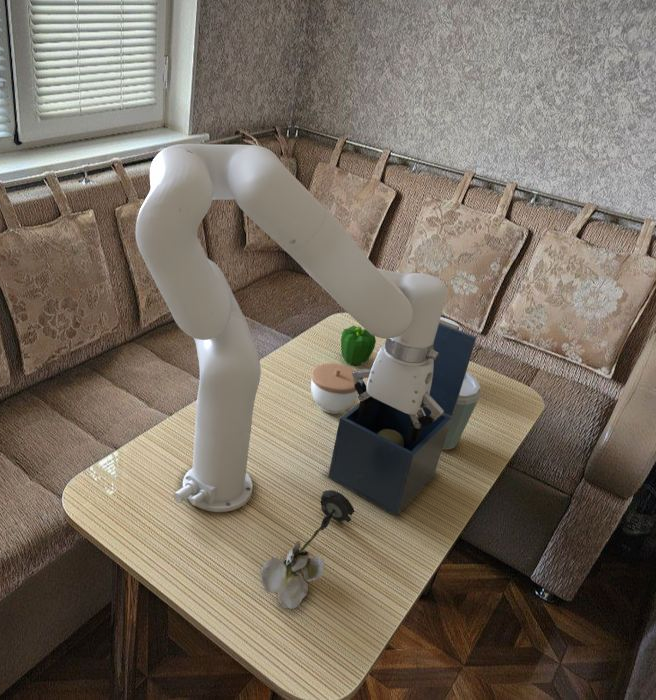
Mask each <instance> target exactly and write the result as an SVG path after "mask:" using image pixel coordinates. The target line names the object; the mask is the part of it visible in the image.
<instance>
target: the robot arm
mask: <svg viewBox="0 0 656 700" xmlns="http://www.w3.org/2000/svg"><path fill="white" fill-rule="evenodd" d="M149 182H150V190H149V192H148V194H147V196H146V197H145V200H144V201H143V203H142V204H141V207H140V209H139V212H138V214H137V217H136V222H135V234H134V235H135V241H136V242H135V243H136V246H137V248H138V251H139V253H140V256H141V258H142V260H143V262H144V263H145V266H146V268H147V269H148V271H149V273H150V275H151V277H152V279H153V282H154V283H155V285H156V288H157V289H158V291H159V293H160V295H161V297H162V298H163V301H164V302H165V304H166V306H167V308H168V310H169V311H170V314H171V316H172V318H173V320H174V322H175V324H176V325H177V326H178V328H179V329H180V330H181V331H182V332H184V334H186V335H187V336H189V337H192V338H193V340H194V343H195V347H196V353H197V359H198V360H197V361H198V366H199V383H198V390H197V395H196V396H197V397H196V407H195V423H194V424H195V425H194V437H193V438H194V439H193V453H192V454H193V455H192V456H193V457H192V467H191V468H190V469H189V470H187V472H186V473H185V475H184V476H183V479H182V487H181V488H180V489H178V490H176V492H174V493H173V495H172V496H173V499H174V501H175V502H176V503H178V504H181V503H182V502H183V501H185V500H187V501H189V502H190V504H191V505H192V506H194V507H197V508H199V509H201V510H203V511H208V512H211V513H227V512H232V511H235V510H238V509H240V508H241V507H243V506H244V505H247V503H248V502H249V500H250V499H251V497H252V495H253V486H254V485H253V480H252V478H251V476H250V475H249V474H248V473H247V465H248V459H249V458H248V457H249V450H250V449H249V448H250V440H251V432H252V423H253V414H254V413H253V412H254V406H255V400H256V396H257V392H258V389H259V385H260V380H261V374H262V370H261V368H262V367H261V360H260V355H259V352H258V349H257V346H256V343H255V340H254V339H253V335H252V333H251V330H250V327H249V324H248V322H247V320H246V318H245V315H244V313H243V311H242V309H241V307H240V305H239V303H238V301H237V299H236V296H235V295H234V293H233V291H232V288H231V287H230V285H229V283H228V281H227V279H226V276H225V274H224V273H223V271H222V269H221V268H220V266H218V264H217V263H215V262H214V261H212V260H211V259H210V258H208V257H207V254H206V251H205V250H204V247H203V246H202V243H201V242H200V239H199V237H198V230H199V227H200V225H201V223H202V221H203V220H204V218H205V217H206V215H207V214H208V213H209V211H210V208H211V206H212V203H213V201H233V200H234V201H235V203H236V204H237V205H238V208H239V209H240V210H241V211H243V213H244V214H245V215H246V216H247V217H248V218H249V219H250V220H251V221H252V222H253V223H255V224H256V225H257V226H258V227H259V228H260V229H261V230H262V231H263V232H264V233H265V234H266V235H268V236H269V238H271V240H273V241H274V242H275V243H276V244H277V245H279V247H280V248H282V249H283V251H284V252H286V253H287V254H288V255H289V256H290V257H291V258H292V259H293V260H294V261H295V262H296V263H297V264H298V265H299V266H300V267H301V268H302V269H303V270H304V271H305V272H306V273H307V274H308V275H309V277H311V278H312V279H313V280H314V281H315V282H316V283H317V284H318V285H319V286H320V287H321V288H322V289H323V290H324V291H326V293H327V294H328V295H329V296H330V298H332V299H333V300H334V301H335V302H336V303H337V304H338V305H339V306H340V307H341V308H342V309H343V310H344V311H345V312H346V313H347V314H348V315H349V316H350V317H351V318H353V320H354V321H356V322H357V323H358V324H359V325H360V327H361V328H363V329H366V330H367V331H368V332H369V333H370V334H372V335H374V336H375V338H380V339H385V342H384V343H383V344H382V345H381V346H380V348H379V350H378V352H377V354H376V357H375V358H374V361H373V363H372V366H371V368H364V369H363V368H362V369H354V370H355V371H354V372H353V373H352V376H353V380H354V382H355V385H354V387H355V389H356V391H357V392H358V395H357V398H358V401H359V403H360V404H359V403H358V404H359V409H358V412H359V417H358V420H360V421H362V420H364V419H365V418H366V417H367V416H369V414H370V411H371V407H372V403H373V398H375V399H377V400H379V401H381V402H383V403H385V404H387V405H389V406H391V407H393V408H396V409H398V410H400V411H402V412H404V413H406V414H409V416H410V418H411V420H412V422H413V424H412V425H411V426H410V428H409V432H408V435H407V439H406V444H407V445H410V444H411V443H412V442H413V441H417V440H418V439H419V437H420V434H421V431H422V427H423V426H426V425H429V424H431V423H432V422H434V421H435V420H436V419H437V418H439V417H440V416H441V415H442V414H443V413H444V411H443V409H442V408H441V407H440V406H439V405H438V404H437V403H436V402H435V401H434V399H433V398H432V397H431V396H430V395H429V394H430V390H431V384H432V378H433V367H434V360H437V358H438V356H439V353H438V352H436V351H435V350H434V339H435V336H436V332H437V329H438V325H439V321H440V318H441V317H442V314H443V310H444V307H445V303H446V300H447V296H448V287H447V285H446V283H445V282H444V281H443V280H442V279H441V278H439V277H437V276H434V275H433V274H427V273H421V272H414V273H413V272H412V273H401V272H396V271H391V270H387V269H383V268H378V267H376V266H375V264H373V263H372V261H371V260H370V259H369V257H368V256H367V255H366V254H365V253H364V252H363V250H361V248H360V246H359V245H358V244H357V242H356V241H355V240H354V239H353V236H352V235H351V233H349V231H348V230H347V229H346V228H345V227H344V226H343V224H342V222H340V221H339V220H338V219H337V218H336V217H335V216H334V214H332V213H331V212H330V211H329V210H328V208H326V207H325V205H323V204H322V203H321V202H320V201H319V200H318V199H317V198H316V197H315V196H314V194H312V193H311V192H310V191H309V190H308V189H307V188H306V187H305V186H304V184H303V183H302V182H300V181H299V180H298V179H297V177H296V176H295V175H294V174H293V173H292V172H291V171H290V170H289V169H288V168H287V167H286V166H285V164H283V163H282V161H281V160H280V158H279V157H278V156H277V155H276V154H275V153H274V152H273V151H272V149H271V150H270V149H268V148H267V147H265V146H262V145H261V146H260V145H256V144H255V145H253V144H215V143H213V144H212V143H211V144H208V143H207V144H206V143H179V144H173V145H169V146H167V147H165V148H163V149H161V151H159V152H158V153H157V154H156V156H155V157H154V158H153V159H152V162H151V165H150V168H149ZM433 359H434V360H433ZM364 379H367V382H366V383H365V381H364ZM425 406H426V407H427V408H428V409H429V410H430V411H431V414H429V415H425V413H424V410H423V408H422V407H425Z"/></svg>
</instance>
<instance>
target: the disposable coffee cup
mask: <svg viewBox="0 0 656 700" xmlns="http://www.w3.org/2000/svg"><path fill="white" fill-rule="evenodd" d="M482 392H483V391H482V389H481V386H480V383H479V380H478V379H477V378H476V377H475V376H474V375H472V374H471V373H470V372H467V371H466V374H465V377H464V381H463V384H462V387H461V390H460V394H459V397H458V400H457V404H456V407H455V410H454V414H453V415H452V416H450V415H448V414H446V413H443V414H445V415H447V416H449V417H451V422H450V425H449V428H448V432H447V435H446V438H445V442H444V445H443V448H442V450H446V451H448V450H452V449H454V448H455V447H456V446H457V444H458V443H459V441H460V439H461V438H462V435H463V434H464V431H465V429H466V427H467V424H468V423H469V420H470V418H471V416H472V414H473V412H474V411H475V407H476V405H477V404H478V402H479V400H481V397H482V395H483V393H482Z"/></svg>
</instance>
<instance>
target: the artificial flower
mask: <svg viewBox="0 0 656 700" xmlns="http://www.w3.org/2000/svg"><path fill="white" fill-rule="evenodd" d="M320 506H321V508H320V510H321V511H322V513H323V514H324V515H325V516H324V517H323V518H322V520H321V522H320V526H319V528H318V529H315V531H314V533H313V534H312V535H311V537H310V538H309V539H308V540H307V541H306V542H305V544H303V546H302V547H301V540H297V541H295V542H294V544H293V546H292V548H291V549H290V550H289V552H288V553H287V554H286V559H285V560H283V561H282V559H281V558H279V557H270V558H268V559H267V560H266V561H265V563H264V564H263V565H262V567H261V568H260V570H259V571H260V572H259V582H260V584H261V586H262V588H263V589H264V591H265V592H267V593H270V594H276V593H277V599H278V603H280V604H281V606H282V608H284V609H290V610H294V609H296V608H298V607H300V605H301V603H302V600H303V599H304V598H305V597H306V596H307V594H308V590H309V586H308V583H307V582H310V581H315V580H317V579H321V578H322V577H323V575H324V568H325V561H324V559H323V558H322V557H320V556H313V557H310V555H309V552H308V551H306V550H305V549H306V548H307V547H308V546H309V545H310V544H311V543H312V541H313V540H314V539H315V538H316V537H317V536H318V534H319V533H320V532H321V531H324V530H325V529H326V528H328V526H329V524H330V522H331V520H332V519H333V520H334V521H337V522H339V523H341V522H345V521H346V523H350V522H351V520H352V517H351V516H353V514H354V513H355V512H356V511H355V508H354V505H353V504H352V503H351V502H350V500H349V499H348V498H347V497H346V496H345V495H343V494H342V493H341V492H339V491H336V490H333V489H328V490H323V491H322V494H321V496H320ZM309 557H310V558H309ZM302 570H303V574H302V573H301V572H302Z"/></svg>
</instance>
